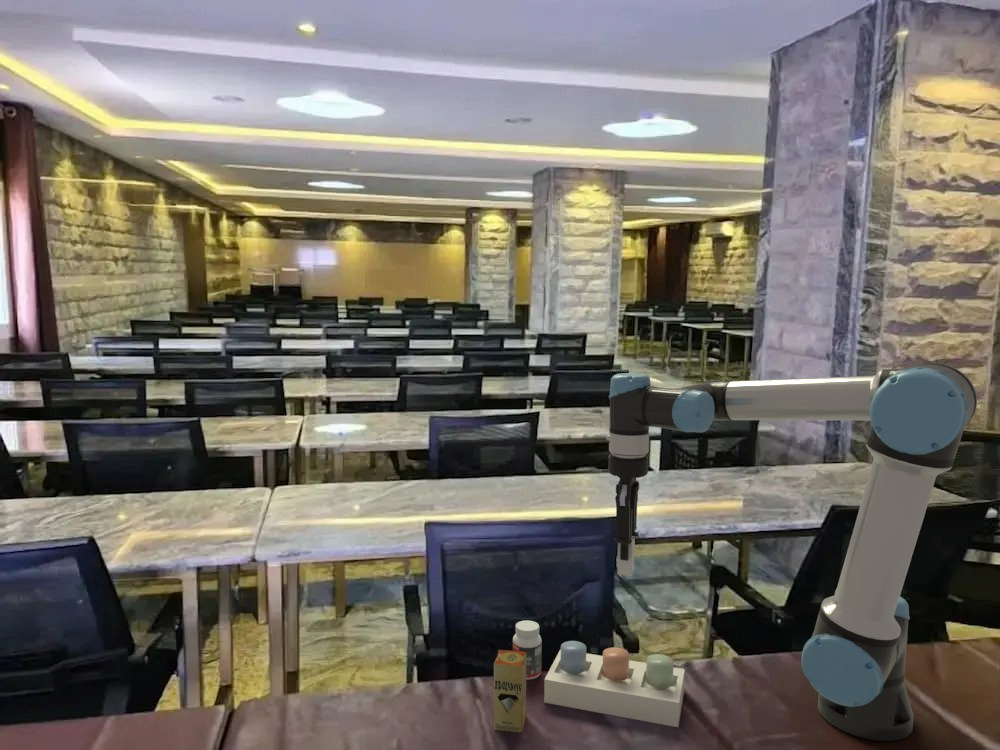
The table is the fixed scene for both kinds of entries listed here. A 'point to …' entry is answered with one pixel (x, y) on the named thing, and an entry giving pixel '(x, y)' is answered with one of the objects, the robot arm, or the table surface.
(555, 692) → the panel
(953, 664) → the table surface
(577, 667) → the button slateblue
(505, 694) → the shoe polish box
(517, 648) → the pill bottle
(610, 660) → the button terracotta
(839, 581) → the robot arm
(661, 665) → the button sage
